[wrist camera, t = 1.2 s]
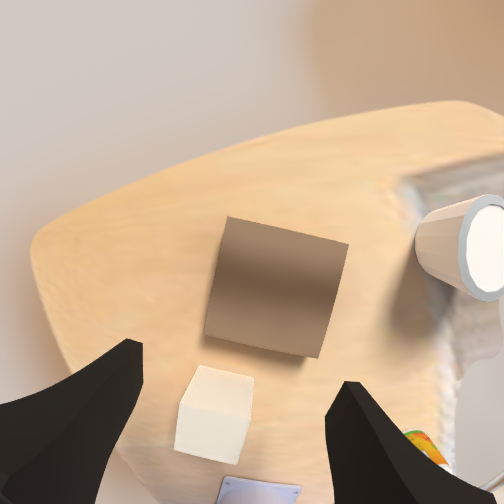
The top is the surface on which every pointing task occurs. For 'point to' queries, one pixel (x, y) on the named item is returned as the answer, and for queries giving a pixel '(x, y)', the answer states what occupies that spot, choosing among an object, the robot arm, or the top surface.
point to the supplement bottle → (426, 447)
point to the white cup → (465, 246)
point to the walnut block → (274, 288)
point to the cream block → (215, 415)
